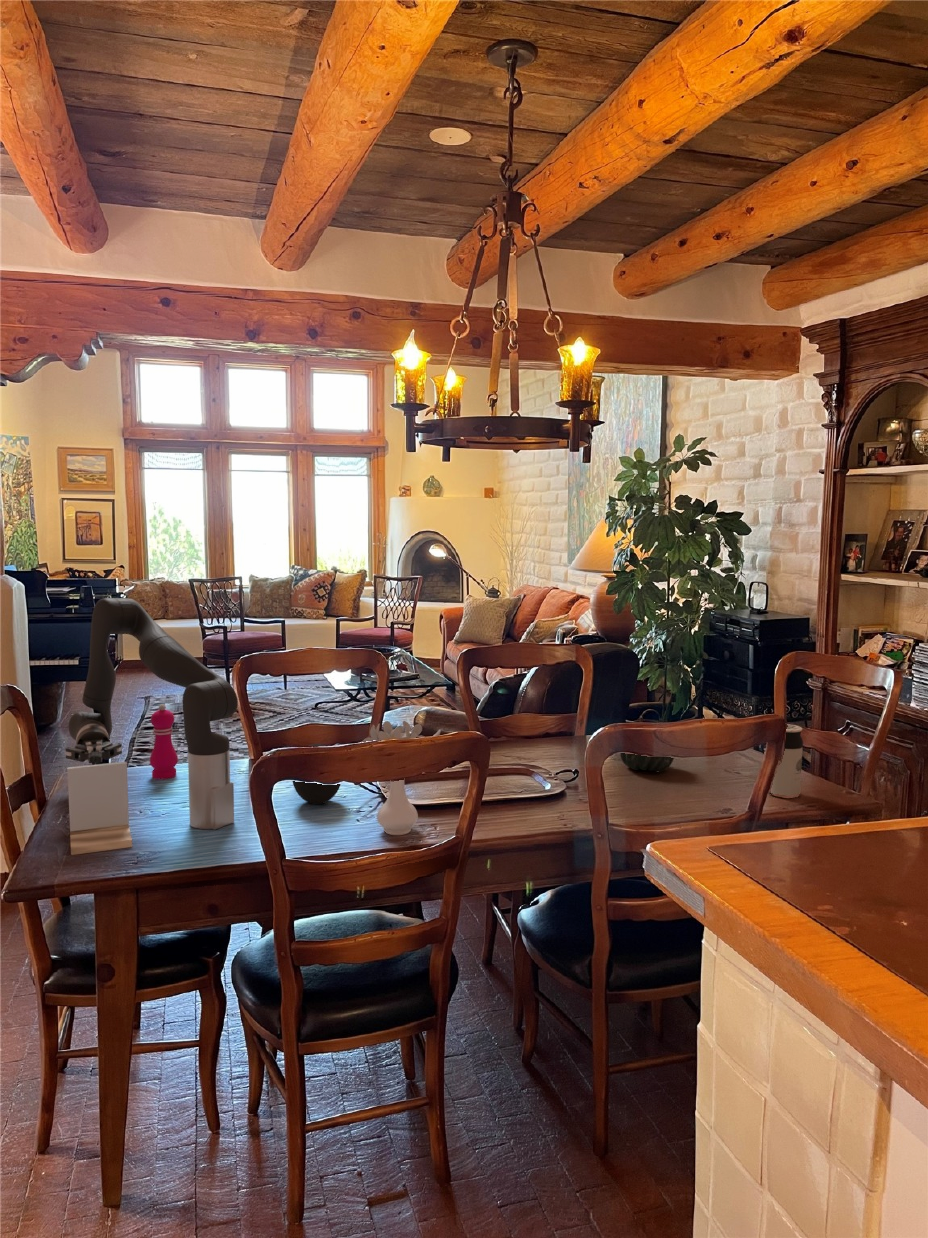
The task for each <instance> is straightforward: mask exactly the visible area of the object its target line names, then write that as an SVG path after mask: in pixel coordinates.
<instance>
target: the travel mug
mask: <svg viewBox="0 0 928 1238" xmlns="http://www.w3.org/2000/svg"><path fill="white" fill-rule="evenodd" d="M786 724H787V725H788V727H787V729H786V744H785V751H784V755H783V759H782V763H781V764H780V765H779V766H778V768H777V773H776V774H775V777H774V780H773V785H772V788H771V793H773V794H779V795H786V796H790V795H797V794H800V795H801V782H802V781H801V779H802V765H803V764H802V763H803V746H804V745H803V744H804V740H803V738H802V736H801V734H802V731H803V727H802V726H799V725H795V724H789V723H786Z"/></svg>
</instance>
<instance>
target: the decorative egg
mask: <svg viewBox="0 0 928 1238" xmlns="http://www.w3.org/2000/svg"><path fill="white" fill-rule="evenodd" d="M308 746H326V745H325V744H321V743H313V744H309V745H308ZM292 785H293V787H294V791H295V792H296V793H297V795H298V796H299V797H300V798H301V799H302V800H304V801H305V802H306V803H309V804H311V805H312V804H313V805H321V804H324V803H326V802H329V801H331V800H332V799H333V798H334V797H335V796H336V794H338V791H339V789H340V788H341V785H342V783H341V784H337V785H322V784H317V783H305V782H295V781H292Z"/></svg>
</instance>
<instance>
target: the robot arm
mask: <svg viewBox="0 0 928 1238" xmlns="http://www.w3.org/2000/svg"><path fill="white" fill-rule="evenodd" d="M111 635H129V636H132V637H134V638H135V639H136V640H138V642H139V646H138V655H139V659H140V661H141V662H142V664H143V665H144V666H145V667H146V668H148V670H149V671H150V672H151V673H152V674H153V675H154V676H156V677H157V678H159V679H161V680H163V681H165V682H168V683H170V684H173V685H176V686H179V687H183V688H185V689H184V690H183V695H182V714H183V716H182V717H183V726H184V727H183V728H184V729H183V730H184V737H185V741H186V744H187V759H188V760H187V761H188V762H187V763H188V764H187V766H188V767H187V769H188V771H187V773H188V807H189V810H188V811H189V825H190V826H191V827H192V828H195V829H201V830H218V829H220V828H223V827H225V826H227V825H230V824H233V823H235V797H234V796H235V795H234V794H235V793H234V790H235V787H234V785H235V784H234V783H233V782H232V781H231V762H230V761H231V759H230V757H231V756H230V755H231V754H230V753H231V752H230V749H231V748H230V739H229V737H228V736H227V735H225V734H222V733H217V732H213V731H212V729H211V728H212V727H211V722H215V721H221V720H223V719H224V720H225V719H227V718H229V717H231V716H232V715H234V714H235V713H236V712H237V710H238V706H239V702H238V701H239V700H238V696H237V692H236V691H235V689H234V688H233V686H232V685H231V684H230V683H229V682H228V681H227V680H226V679H224V678H223V677H222V676H220V675H219V674H217V673H215V672H214V671H213V670H211V669H210V668H208V667H207V666H205V665H204V664H203V663H202V662H200V661H199V660H198V659H197V658H196V657H194V655H192V654H191V653H190V652H189V651H188V650H187V649H185V648H184V647H183V646H182V645H181V643H179V641H177V640H176V639H175V638H174V637H172V636H171V635H169V634H168V633H167V632H166V631H165V630H164V629H163V627H161V626H160V625H159V624H158V623H157V622H156V621H155V620H154V619H153V617H151V615H150V614H149V613H148V612H147V611H146V609H145V608H144V607H143V606H142V604H140V603H139V602H138V601H137V600H136V599H134V598H133V599H132V598H128V597H122V598H120V597H115V598H114V597H104V598H101V599H99V600H98V601H96V603H95V605H94V606H93V611H92V616H91V627H90V639H89V640H90V642H89V661H88V662H89V664H88V669H87V670H88V671H87V677H86V681H85V686H84V688H83V689H84V690H83V692H82V693H83V694H82V699H81V700H82V703H83V705H85V706H86V707H87V708H90V709H92V710H94V711H96V712H97V713H96V712H90V711H77V712H75V713H73V714H72V716H71V717H70V719H69V721H68V726H67V727H68V732H69V735H70V737H71V738H72V739H73V740H74V741H75V746H74V747H71V746H67V747H65V759H66V760H67V759H68V760H72V761H75V762H81V763H84V762H86V761H87V762H88V764H91V765H97V764H101V763H103V760H106V761H107V760H110V759H113V758H114V757H117V756H119V755H121V754H123V744H122V742H117V743H112V742H110V736H111V734H112V732H113V731H112V730H113V721H112V711H111V710H112V709H111V708H112V707H111V706H112V700H113V696H114V690H115V686H116V680H117V675H116V671H115V670H116V669H115V667H114V665H113V662H112V660H111V657H110V654H109V652H108V643H109V639H110V637H111Z"/></svg>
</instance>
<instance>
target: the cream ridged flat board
mask: <svg viewBox="0 0 928 1238" xmlns="http://www.w3.org/2000/svg"><path fill="white" fill-rule="evenodd" d="M69 835H70V836H69V839H70V855H71V856H74V855H82V854H83V855H84V854H89V853H96V852H104V851H111V850H117V849H119V850H120V849H125V848H132V847H133V839H132V833H131V830H130V823H129V824H126V825H118V826H110V827H102V828H94V829H86V830H79V831H71V832H70V831H69Z"/></svg>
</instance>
